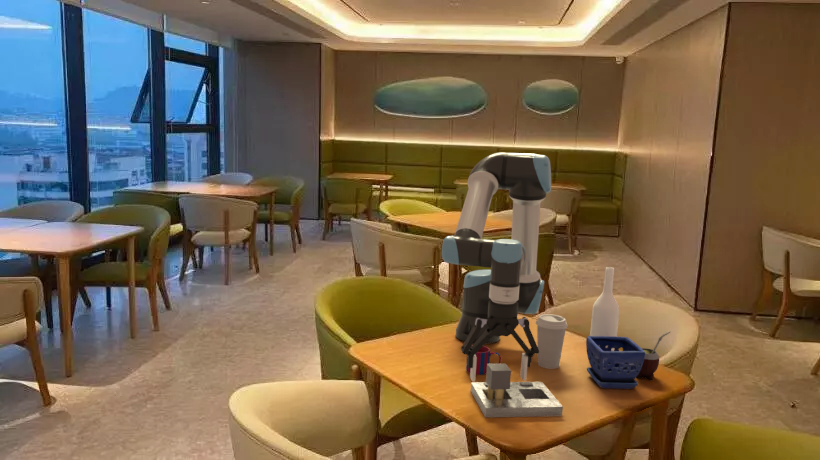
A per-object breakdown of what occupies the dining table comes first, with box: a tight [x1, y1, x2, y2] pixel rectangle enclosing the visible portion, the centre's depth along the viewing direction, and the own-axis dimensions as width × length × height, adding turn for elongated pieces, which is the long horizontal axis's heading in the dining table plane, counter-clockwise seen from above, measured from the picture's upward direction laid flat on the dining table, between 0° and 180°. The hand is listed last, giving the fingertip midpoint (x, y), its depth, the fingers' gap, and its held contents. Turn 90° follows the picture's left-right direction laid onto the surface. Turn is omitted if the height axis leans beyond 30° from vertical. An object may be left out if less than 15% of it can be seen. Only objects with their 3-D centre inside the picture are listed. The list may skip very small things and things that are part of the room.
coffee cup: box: [535, 313, 569, 370], centre depth 196 cm, size 10×10×15 cm
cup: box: [465, 345, 502, 376], centre depth 189 cm, size 7×10×7 cm
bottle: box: [589, 266, 620, 351], centre depth 202 cm, size 8×8×30 cm
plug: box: [485, 363, 512, 400], centre depth 167 cm, size 5×5×10 cm
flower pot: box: [585, 335, 645, 390], centre depth 185 cm, size 13×13×12 cm
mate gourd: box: [635, 331, 671, 381], centre depth 190 cm, size 8×8×15 cm
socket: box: [470, 381, 564, 418], centre depth 168 cm, size 16×20×3 cm
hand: (498, 379), depth 167 cm, fingers open, 13 cm apart
